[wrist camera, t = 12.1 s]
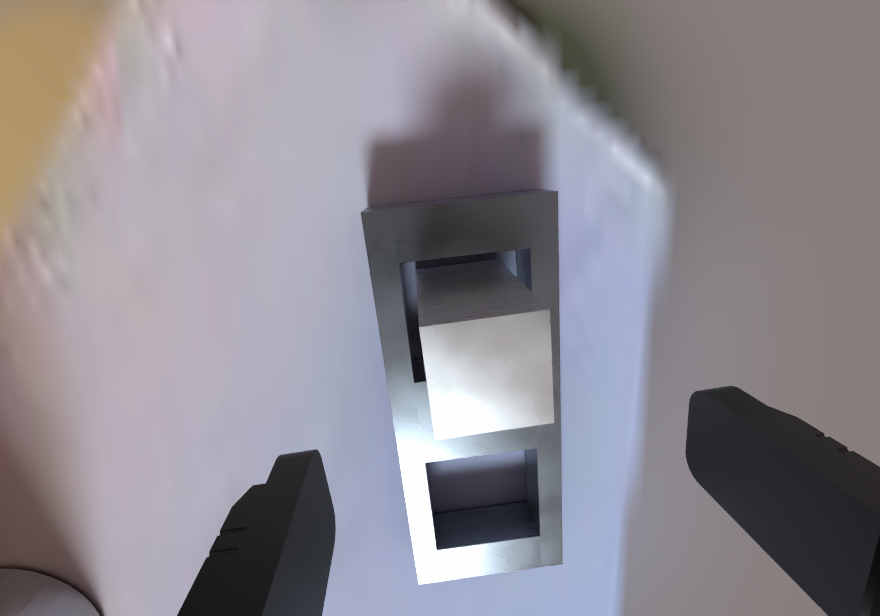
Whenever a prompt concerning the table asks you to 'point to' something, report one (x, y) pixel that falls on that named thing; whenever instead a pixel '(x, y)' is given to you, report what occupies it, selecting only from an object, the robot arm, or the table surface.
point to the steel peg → (483, 349)
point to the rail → (388, 245)
